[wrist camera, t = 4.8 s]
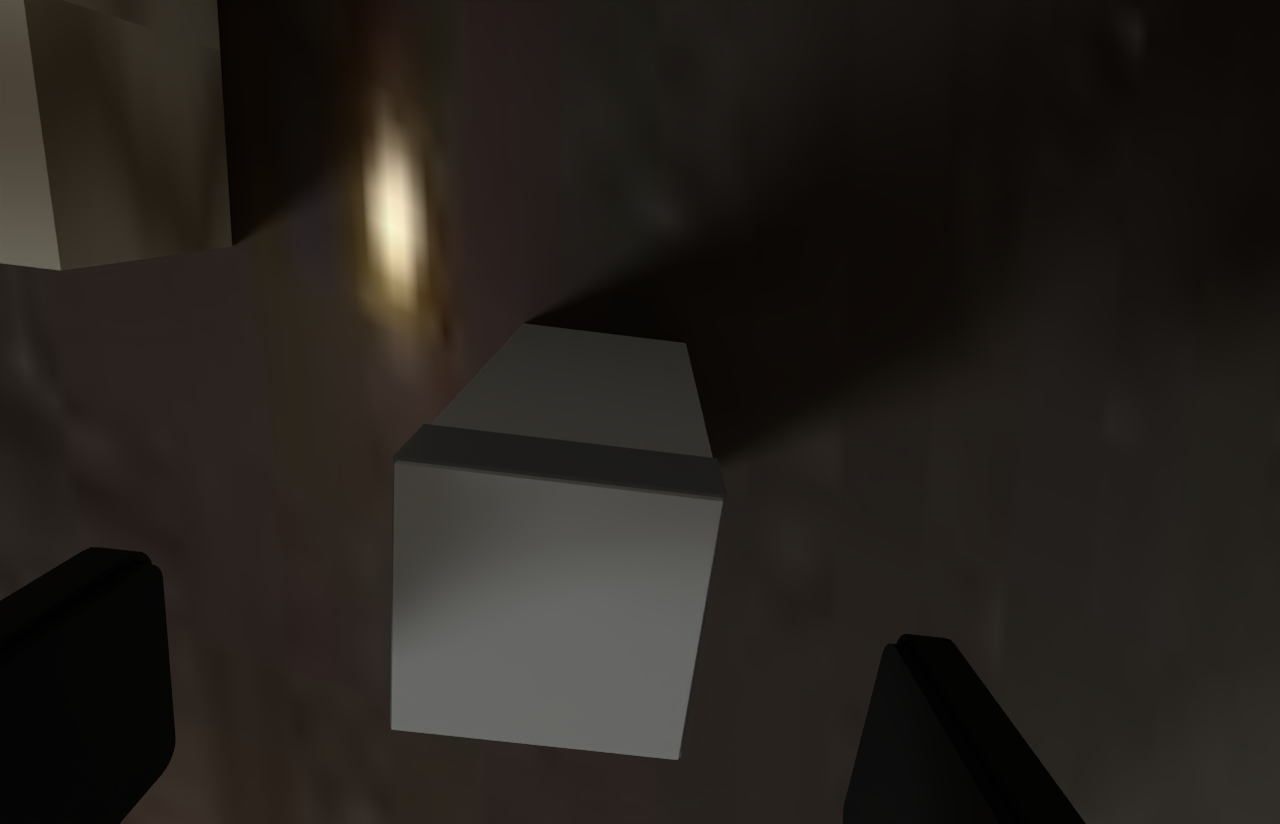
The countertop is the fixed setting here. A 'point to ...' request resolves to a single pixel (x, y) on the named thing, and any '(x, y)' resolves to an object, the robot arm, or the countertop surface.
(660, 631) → the plug
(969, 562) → the countertop surface
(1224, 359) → the countertop surface
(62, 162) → the socket block
